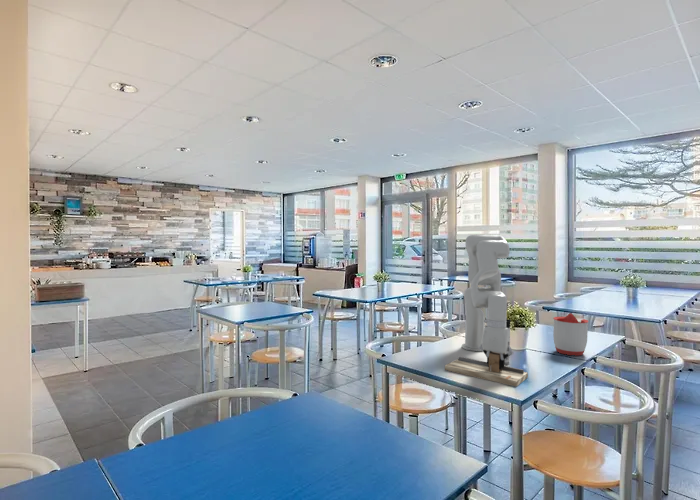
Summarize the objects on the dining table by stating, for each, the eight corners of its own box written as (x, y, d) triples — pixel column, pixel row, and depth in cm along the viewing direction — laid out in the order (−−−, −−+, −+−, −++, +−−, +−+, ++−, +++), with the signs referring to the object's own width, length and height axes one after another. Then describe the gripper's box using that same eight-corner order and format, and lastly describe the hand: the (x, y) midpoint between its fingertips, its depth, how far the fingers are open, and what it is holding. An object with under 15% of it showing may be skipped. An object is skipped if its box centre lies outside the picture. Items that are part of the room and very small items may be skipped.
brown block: (493, 367, 176) (493, 351, 176) (502, 369, 174) (502, 352, 173) (485, 372, 170) (485, 355, 169) (495, 374, 167) (495, 357, 167)
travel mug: (511, 365, 186) (512, 321, 186) (495, 364, 188) (496, 320, 187) (508, 361, 193) (509, 318, 192) (493, 360, 194) (494, 317, 193)
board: (459, 362, 190) (459, 355, 190) (527, 377, 171) (528, 368, 170) (444, 370, 179) (445, 361, 179) (516, 386, 160) (516, 377, 160)
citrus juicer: (595, 353, 208) (596, 314, 207) (577, 359, 198) (578, 317, 197) (564, 346, 220) (565, 309, 220) (545, 351, 210) (547, 312, 210)
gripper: (473, 322, 175) (472, 365, 175) (514, 328, 164) (513, 374, 165) (480, 319, 181) (479, 361, 181) (520, 325, 170) (519, 369, 170)
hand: (495, 367), depth 173 cm, fingers closed on brown block, 4 cm apart
